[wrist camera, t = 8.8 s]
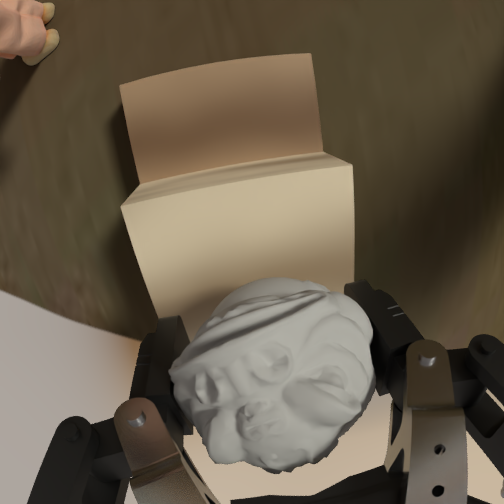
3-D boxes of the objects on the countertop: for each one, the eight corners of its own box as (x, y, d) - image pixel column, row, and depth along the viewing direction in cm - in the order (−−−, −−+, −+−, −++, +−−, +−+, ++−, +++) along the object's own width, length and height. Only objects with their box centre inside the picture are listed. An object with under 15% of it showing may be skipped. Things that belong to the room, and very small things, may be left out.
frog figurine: (295, 187, 10) (409, 321, 4) (357, 324, 13) (426, 453, 7) (145, 271, 11) (95, 445, 5) (239, 379, 14) (257, 516, 8)
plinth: (132, 88, 14) (92, 80, 9) (297, 60, 14) (338, 39, 9) (186, 305, 20) (181, 371, 15) (318, 280, 21) (350, 338, 15)
